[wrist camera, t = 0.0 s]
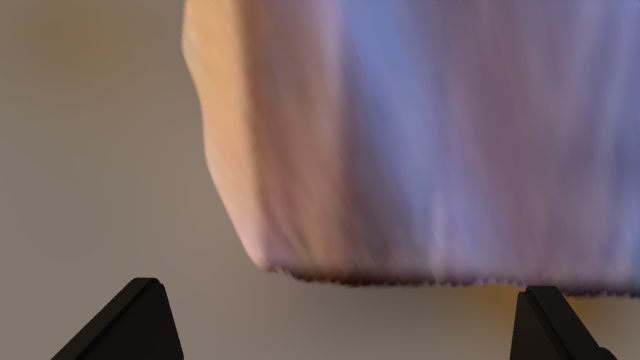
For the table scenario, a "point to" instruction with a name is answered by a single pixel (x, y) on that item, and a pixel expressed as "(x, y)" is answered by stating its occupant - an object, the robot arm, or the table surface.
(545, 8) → the table surface
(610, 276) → the table surface
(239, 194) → the table surface
